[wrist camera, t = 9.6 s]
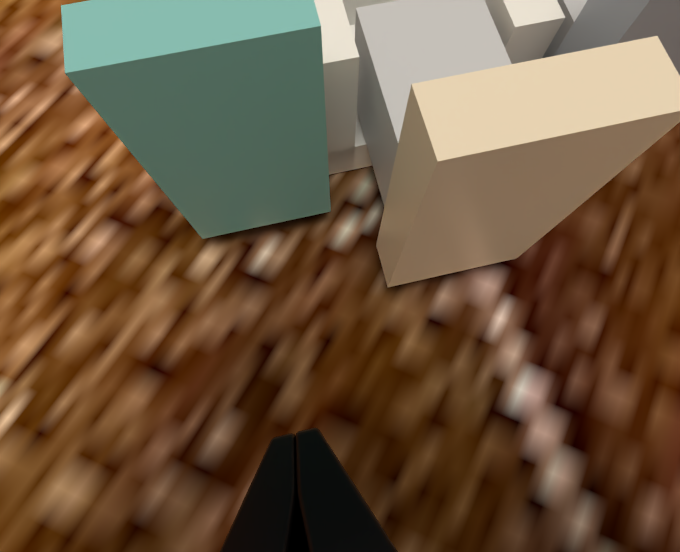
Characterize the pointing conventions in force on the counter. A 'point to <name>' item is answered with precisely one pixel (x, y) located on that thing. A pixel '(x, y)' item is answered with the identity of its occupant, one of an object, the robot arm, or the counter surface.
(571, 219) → the counter surface
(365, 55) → the button tan
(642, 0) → the drawer slate
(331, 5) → the gray divided box
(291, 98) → the button teal
